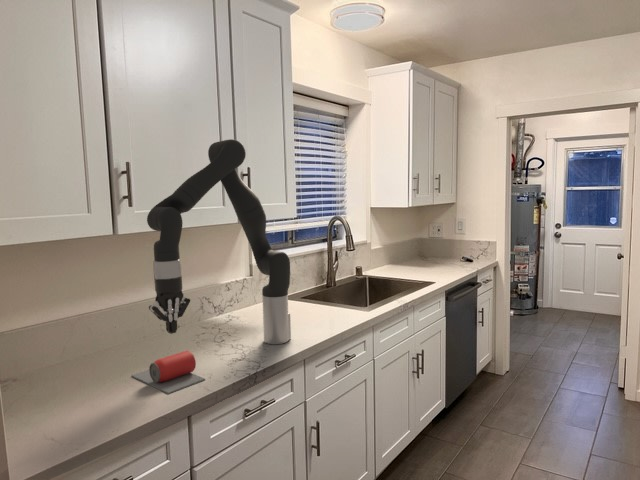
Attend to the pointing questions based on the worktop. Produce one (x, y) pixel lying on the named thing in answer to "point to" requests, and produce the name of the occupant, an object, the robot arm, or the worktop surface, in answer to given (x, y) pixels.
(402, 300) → the worktop surface
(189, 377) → the slate mat
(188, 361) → the beer can
